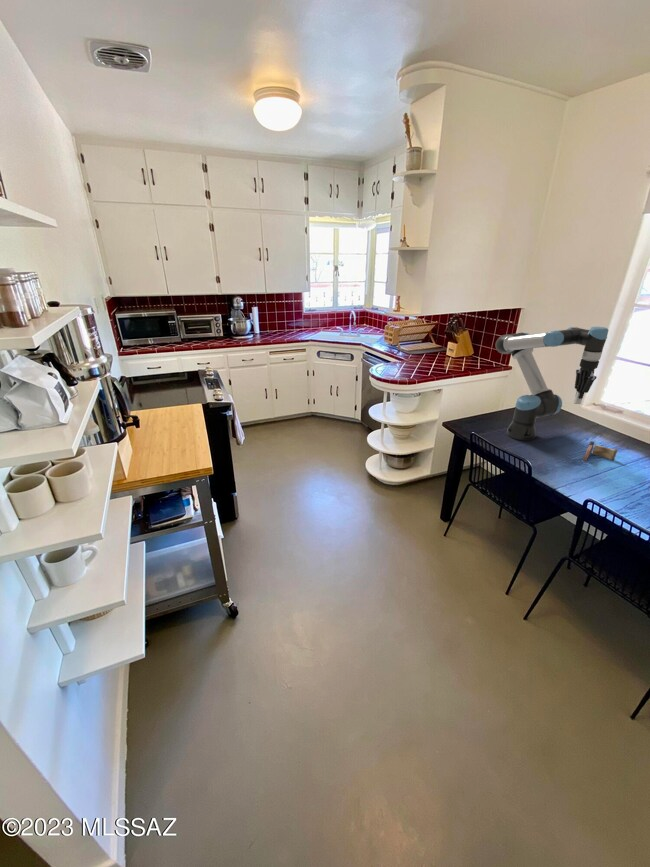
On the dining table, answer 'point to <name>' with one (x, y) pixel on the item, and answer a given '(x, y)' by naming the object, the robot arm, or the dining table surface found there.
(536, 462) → the dining table surface
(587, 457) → the hinged fence panel
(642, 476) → the dining table surface
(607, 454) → the fence post and fixed panel
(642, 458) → the dining table surface
